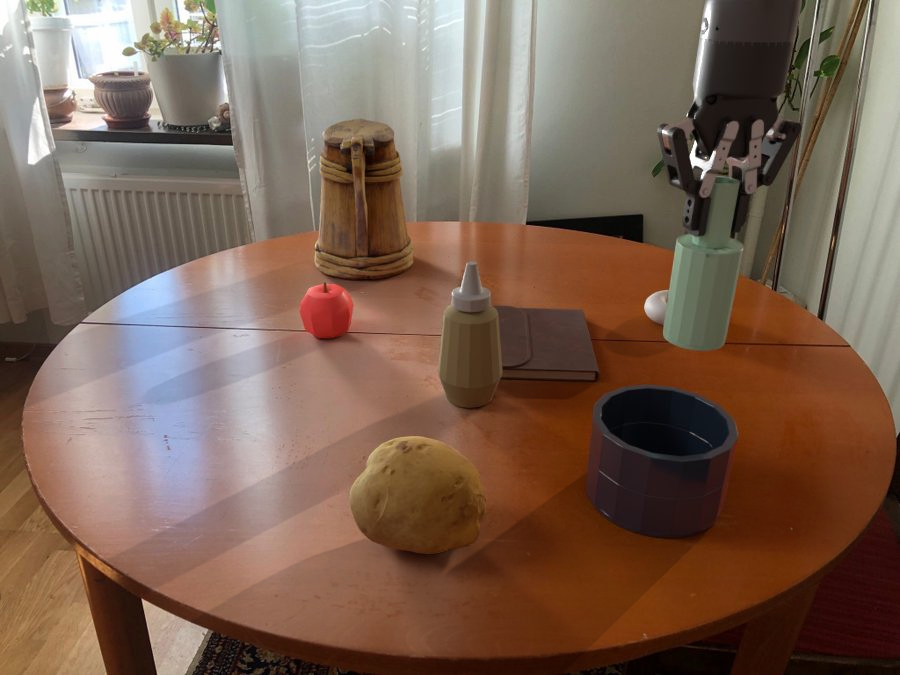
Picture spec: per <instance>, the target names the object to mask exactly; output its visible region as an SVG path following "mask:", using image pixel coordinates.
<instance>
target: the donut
mask: <svg viewBox="0 0 900 675" xmlns="http://www.w3.org/2000/svg"><path fill="white" fill-rule="evenodd" d="M668 293H669V289H665V290H659V291H656V292H654V293H652V294H651V295H649V296H647V298H646V300H645V302H644V306H643V308H644V311H645V314H646V316H647V317H648V318H649V319H650V320H651V321H653V323H656V324H658V325H660V326H662V327H663V326H664V320H665V313H666V307H667V300H668Z"/></svg>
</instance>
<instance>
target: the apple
mask: <svg viewBox="0 0 900 675" xmlns="http://www.w3.org/2000/svg"><path fill="white" fill-rule="evenodd" d="M354 307H355V306H354V301H353V298H352V296H351V294H350V293H349V292H348V291H347V289H346V288H344V287H342V286H340V285H338V284H334V283H333V284H332V283H331V284H330V283H327V282H326V281H323V283H322V284H318V285H314V286H311V287H309V288H308V290H307V292H306V293H305V294H304V296H303V298H302V300H301V302H300V306H299V315H300V318H301V322H302V325H303V327H304V330H305V331H307V332H308V333H309V334H311V335H313V336H315V337H316V338H318V339H319V340H320V338H325V339H335V338H338V337H341V335H342V336H343V335H345V334H347V332H348V331H349V329H350V327H351V324H352V319H353V313H354V312H353V311H354Z"/></svg>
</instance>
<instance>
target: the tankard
mask: <svg viewBox="0 0 900 675" xmlns="http://www.w3.org/2000/svg"><path fill="white" fill-rule="evenodd" d="M321 138H322V141H323V150H322V152H321V154H320V156H319V174H320V175H321V187H320V208H319V209H320V210H319V228H318V239H317V241H316V242H315V244H314V258H313V259H314V265H315V267H316V269H317V270H318V271H320V272H322V273H323V274H325V275H328V276H331V277H335V278H339V279H344V280H345V279H346V280H355V281H357V280H379V279H383V278H389V277H393V276H395V275H396V276H397V275H398V274H401V273H404V272H405V271H407V270H408V269H409V268H410V267H411V266H412V265H413V264H414V254H415V252H414V251H415V250H414V248H413V246H414V245H413V240H412V238H411V237H410V236H409V233H408V226H407V225H408V224H407V219H406V213H405V206H404V200H403V194H402V193H403V192H402V185H401V177H402V176H403V167H402V160H401V155H400V153H399V151H397V150H396V144H395V131H394V130H393V129H392V127H391V126H390V125H388V124H386V123H383V122H379V121H374V120H369V119H364V118H361V117H359V118H354V119H348V120H343V121H339V122H336V123H334V124H332V125H330V126H328V127H327V128H326V129H325V130H324V131H323V132H322V134H321Z"/></svg>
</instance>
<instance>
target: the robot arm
mask: <svg viewBox="0 0 900 675" xmlns="http://www.w3.org/2000/svg"><path fill="white" fill-rule="evenodd" d="M802 1H803V0H704V5H703V11H702V18H701V25H700V32H699V37H698V45H697V52H696V58H695V63H694V64H695V65H694V70H693V77H692V78H693V79H692V90H693V101H692V103H691V105H690V107H689V108H688V110H687V112H686V116H685V117H684V118H683V119H681V120H678V121H677V122H674V123H673V124H668V123H664V122H663V123H661V124H660V125H659V126H658V128H657V130H656V131H657V133H656V134H657V138H658V143H659V146H660V151H661V155H662V159H663V163H664V168H665V173H666V176H667V181H668V184H669V185H670V186H672V187H675V188H677V189H678V190H681V191H683V192H685V200H684V207H683V213H682V215H683V216H682V219H681V220H682V221H681V223H682V227H684V228H685V229H684V230H685V232H686V233H687V234H691V235H693V236H695V237H698V236H704V235H705V231H706V226H707V220H708V214H709V208H710V202H711V198H710V197H708V196H709V195H710V194H711V191H712V188H713V185H714V182H715V179H716V176H718V175H719V174H720V173H722V172H723V170H724V167H725V165H726V164H727V165H728V177H730V178H734V179H737V180H739V182H740V184H739V190H738V195H737V200H736V206H735V211H734V217H733V222H732V227H731V233H730V234H739V233H740V232H741V231H742V227H743V226H744V225H745V223H746V221H747V217H748V210H749V205H750V201H751V197H752V194H754V193H755V192H756V190H757V189H758V188H760V187H762V186H765V187H769V186H771V185H773V182H775V180H776V178H777V176H778V174H779V173H780V170H781V168H782V167H783V164H784V163H785V161H786V159H787V157H788V155H789V154H790V151H791V150H792V148H793V147H794V144H795V142H796V141H797V139H798V137H799V135H800V134H801V131H802V125H801V123H800V122H797V121H794V120H791V119H787V118H784V117H782V116H781V115H780V113H779V112H780V111H779V106H778V97H780V96H781V95H783V93H784V92H785V90H786V85H787V79H788V74H789V70H790V66H791V65H790V64H791V59H792V56H793V50H794V46H795V40H796V37H797V36H796V35H797V31H798V26H799V20H800V16H801V10H802V4H803V3H802ZM691 135H692V137H693V139H694V143H693V146H692V149H691V153H690V150H689V147H688V146H690V145H691V144H692V140H691ZM707 157H710V159H708V158H707Z"/></svg>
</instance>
